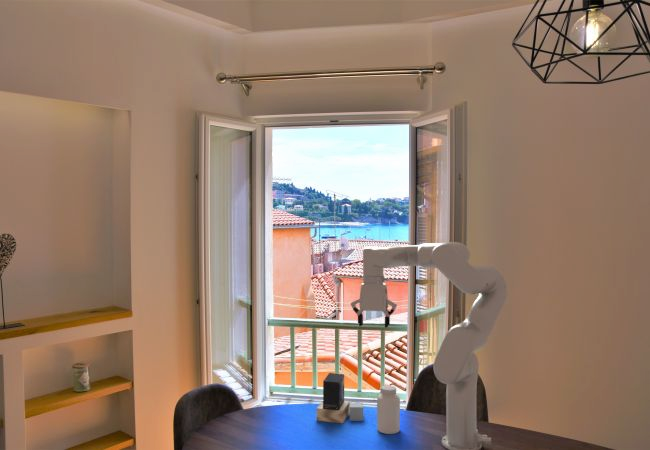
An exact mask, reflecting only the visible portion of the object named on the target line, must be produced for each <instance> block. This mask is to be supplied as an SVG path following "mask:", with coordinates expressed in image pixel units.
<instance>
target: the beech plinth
mask: <svg viewBox="0 0 650 450" xmlns="http://www.w3.org/2000/svg"><path fill="white" fill-rule="evenodd" d="M349 416H350V401H349V400H348V401H345V400H344V402H343V404H342V405H341V407H340V409H339V410H331V409H323V401H322V402H321V403H320V404H319V405H318V406H317V407H316V421H319V422H326V423H327V422H328V423H336V424H344V422H345V421H346V419H347V418H348V417H349Z"/></svg>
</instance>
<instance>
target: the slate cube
mask: <svg viewBox="0 0 650 450" xmlns="http://www.w3.org/2000/svg"><path fill="white" fill-rule="evenodd" d="M349 402H350V401H349ZM349 421H350V422H352V421H353V422H355V421H356V422H360V421H361V422H363V421H364V402H357V401H356V402H350V414H349Z"/></svg>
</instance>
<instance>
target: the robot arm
mask: <svg viewBox="0 0 650 450" xmlns="http://www.w3.org/2000/svg"><path fill="white" fill-rule="evenodd" d="M470 255H471V253H470V250H469V247H467V245H465V244H463V243H461V242H458V241H449V242H446V241H445V242H432V243H431V242H430V243H429V242H428V243H427V242H426V243H421V244H415V245H398V246H397V245H396V246H395V245H394V246H386V247H385V246H384V247H381V246H366V247H364V248H363V250H362V276H363V277H362V279H363V280H362V283H360V284H361V286H360V291H359V292H360V293H359V298H358V299H356V300H354V301H352V302H350V306H351V308H352V311H354V313H355V314H356V316H357V324H358V325H359V327H362V326H363V325H364V315H363V313H364V311H365V312H383V314H384V315H385V316H384V328H388V327H389V326H390V324H391V322H390V320H391V319H390V316H392V314H393V313H394V312H395V311H396V309H397V306H398V304H397V303H395V302H393V301H392V300H390V299H389V296H388V289H387V284H386V283H384V282H387V281H388V277H386V276H385V274H384V269H391V268H399V267H420V268H422V269H437V270H438V271H439V272H440V273H441V274H442V275H443V276H444V277H445V278H446V279H447V280H448V281H449V282H451V283H452V284H453V285H454V286H455V287H456V288H457V289H458V290H459V291H461V292H462V293H464V294H466V295H469V296H470V295H471V296H472V295H473V296H474V295H475V296H476V295H478V296H477V298H476V299H475V301H473V304H472V306H471V307H470V309H469V312H468V313H467V316H466V317H465V319H464V320H463V321H462V322H460V323H457V324H455V325H453V326H452V327H450V329H449V330H448V331H447V332H446V334H445V336H444V338H443V340H442V342H441V345H440V347H439V349H438V352H437V354H436V356H435V357H434V361H433V367H432V369H433V373H434V376H435V378H436V379H437V380H438V382H440V383H441V384H445V385H446V387H445V388H446V392H445V399H446V401H445V403H446V404H445V405H446V407H445V408H446V409H445V411H446V417H445V419H446V424H445V425H446V434H445V435H444V436H442V438H441V444H442V446H443V447H444V448H445V449H447V450H481V449H482V444H486V445H492V437H488V435H487V434H481V433H479V429H477V423H478V422H477V387H478V386H477V384H478V375H479V367H480V363H479V358H478V356H477V354H476V353H475V352H477V351H479V350H482V349H483V348H484V347H485V346H486V344H487V343H488V340H489V338H490V336H491V334H492V332H493V330H494V327H495V326H496V323H497V321H498V319H499V316H500V314H501V312H502V310H503V308H504V305H505V303H506V300H507V295H508V287H507V282H506V279H505V277H504V276H503V274H502V272H501V271H500V270H499V269H498V268H497V267H494V266H493V265H489V264H479V265H474V266H473V265H471V264H470V263H469V261H470ZM357 304H358V305H359V307H357ZM389 306H391V309H390V310H388V308H389Z"/></svg>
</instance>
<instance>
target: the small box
mask: <svg viewBox="0 0 650 450" xmlns="http://www.w3.org/2000/svg"><path fill="white" fill-rule="evenodd" d="M322 382H323V383H322V384H323V385H322V386H323V387H322V394H323V395H322V402H323V409H331V410H339V409H340V407H341V405H342V404H343V402H344V401H345V374H344V373H332V372H329V373H328V374H326V377H325V378H323V381H322Z"/></svg>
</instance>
